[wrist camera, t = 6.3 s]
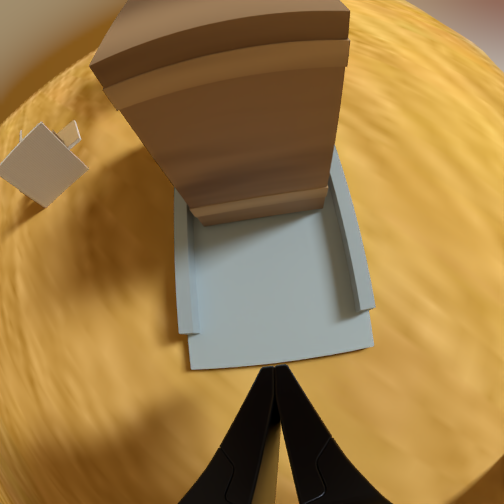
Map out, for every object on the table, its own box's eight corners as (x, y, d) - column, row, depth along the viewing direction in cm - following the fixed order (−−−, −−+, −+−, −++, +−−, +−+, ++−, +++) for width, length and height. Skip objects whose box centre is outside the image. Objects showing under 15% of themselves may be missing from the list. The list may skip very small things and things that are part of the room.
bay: (371, 345, 15) (461, 345, 6) (193, 368, 16) (90, 388, 7) (311, 100, 20) (311, -4, 11) (184, 121, 21) (140, 28, 12)
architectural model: (43, 187, 23) (-6, 149, 16) (94, 142, 23) (51, 93, 16) (48, 211, 21) (-7, 173, 14) (102, 163, 22) (53, 111, 15)
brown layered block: (324, 209, 16) (352, 12, 5) (203, 227, 17) (87, 67, 6) (300, 119, 19) (292, -43, 7) (200, 136, 19) (134, -10, 8)
